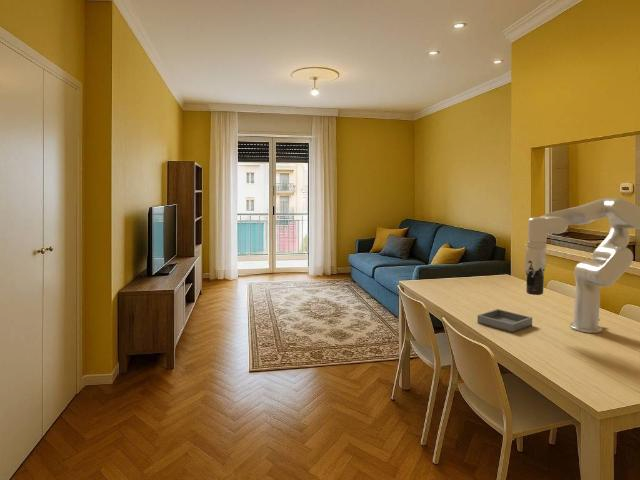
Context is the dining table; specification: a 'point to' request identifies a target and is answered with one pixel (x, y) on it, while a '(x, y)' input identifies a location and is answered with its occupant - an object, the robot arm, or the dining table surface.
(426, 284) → the dining table surface
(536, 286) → the supplement bottle
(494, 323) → the tray
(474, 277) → the dining table surface
